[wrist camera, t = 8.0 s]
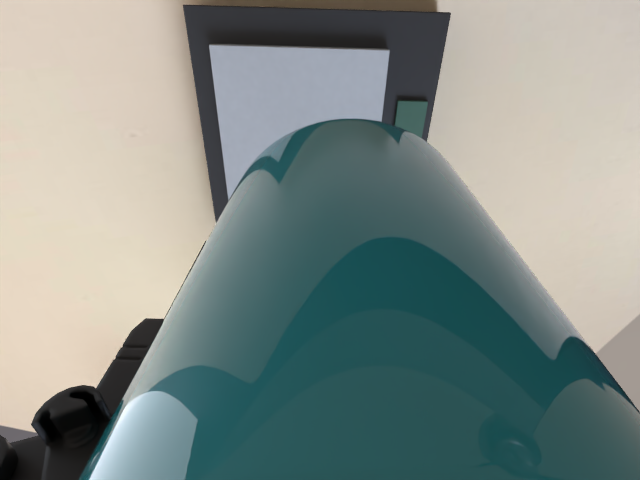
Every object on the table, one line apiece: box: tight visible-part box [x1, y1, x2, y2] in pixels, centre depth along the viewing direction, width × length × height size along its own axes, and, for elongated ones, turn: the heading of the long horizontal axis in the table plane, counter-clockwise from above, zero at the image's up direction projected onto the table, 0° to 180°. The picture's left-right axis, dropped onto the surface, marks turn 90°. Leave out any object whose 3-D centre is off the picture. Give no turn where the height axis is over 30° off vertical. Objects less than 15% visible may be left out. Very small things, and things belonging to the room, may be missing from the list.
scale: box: [183, 5, 451, 223], centre depth 27 cm, size 18×16×4 cm
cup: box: [78, 118, 640, 480], centre depth 10 cm, size 9×12×11 cm
